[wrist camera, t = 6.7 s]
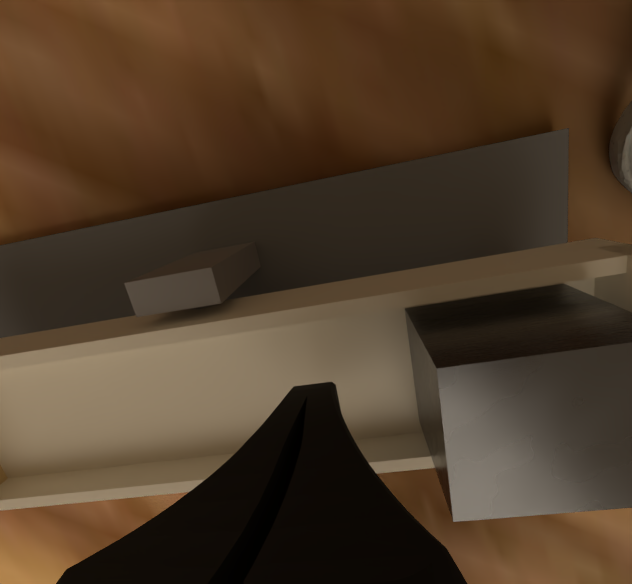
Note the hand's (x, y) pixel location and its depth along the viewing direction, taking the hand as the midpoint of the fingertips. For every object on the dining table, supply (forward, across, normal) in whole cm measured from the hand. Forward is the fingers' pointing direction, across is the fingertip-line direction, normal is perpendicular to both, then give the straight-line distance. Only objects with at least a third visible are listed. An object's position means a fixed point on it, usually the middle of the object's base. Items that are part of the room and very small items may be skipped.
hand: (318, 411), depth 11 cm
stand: (+7, +4, 0) cm, 8 cm away
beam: (+4, +4, 0) cm, 5 cm away
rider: (+2, -6, 0) cm, 6 cm away
